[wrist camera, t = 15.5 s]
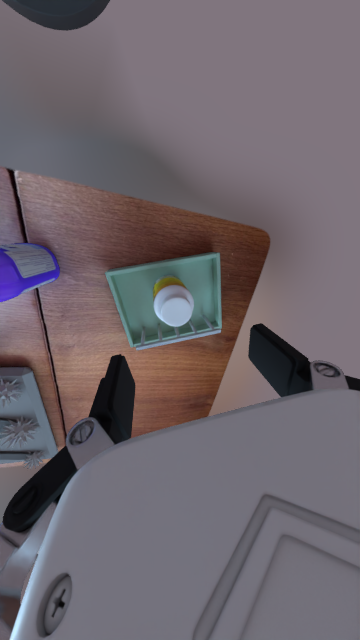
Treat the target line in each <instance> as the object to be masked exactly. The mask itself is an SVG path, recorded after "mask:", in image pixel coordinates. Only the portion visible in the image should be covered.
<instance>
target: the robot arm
mask: <svg viewBox="0 0 360 640" xmlns="http://www.w3.org/2000/svg"><path fill="white" fill-rule="evenodd" d="M248 356H249V359H250V360H251V362H252V363H253V364H254V365H255V366H256V368H257V369H258V370H259V371H260V373H261V374H262V375H263V376H264V377H265V379H267V381H268V382H269V383H270V385H271V386H272V387H273V388H274V389H275V391H276V392H277V393H278V394H279V395H280V396H281V398H278V399H274V400H270V401H266V402H262V403H259V404H255V405H251V406H247V407H243V408H239V409H235V410H232V411H228V412H224V413H220V414H217V415H213V416H209V417H205V418H202V419H198V420H194V421H190V422H187V423H183V424H179V425H176V426H172V427H168V428H165V429H161V430H158V431H154V432H151V433H147V434H144V435H140V436H137V437H134V438H131V431H132V420H133V409H134V397H135V382H134V379H133V377H132V374H131V372H130V369H129V367H128V364H127V361H126V359H125V357H124V356H121V354H119V355H115V356H112V357H111V360H110V363H109V366H108V369H107V372H106V376H105V378H102V379H101V381H100V384H99V387H98V390H97V393H96V396H95V399H94V402H93V405H92V408H91V411H90V414H89V417H87V418H84V419H82V420H80V421H79V422H77V423H76V424H75V425H74V426H73V427H72V428H71V430H70V431H69V433H68V435H67V437H66V446H65V447H64V448H63V449H61V450H60V451H59V452H58V453H57V454H56V455H55V456H54V457H53V458H52V459H51V460H50V461H49V462H48V463H47V464H46V465H45V466H44V467H42V468H41V469H40V470H39V471H38V472H37V473H36V474H35V475H34V476H33V477H32V478H31V479H30V480H29V481H28V482H27V483H26V484H24V486H22V487H21V488H20V489H19V491H18V492H17V493H16V494H15V495H14V497H13V498H12V500H11V501H10V502H9V504H8V506H7V508H6V510H5V513H4V516H3V521H2V523H1V524H0V640H360V379H357V378H353V377H349V376H345V375H344V373H343V371H342V370H341V369H340V368H339V367H337V366H336V365H334V364H332V363H329V362H326V361H320V360H318V361H313V362H309V361H308V358H307V357H305V356H304V355H303V354H301V353H300V352H299V351H297V350H296V349H295V348H294V347H292V346H291V345H290V344H288V343H287V342H286V341H284V340H283V339H281V338H280V337H279V336H278V335H276V334H275V333H274V332H272V331H271V330H270V329H268V328H267V327H266V326H264V325H263V324H256V325H253V327H252V328H251V330H250V344H249V355H248ZM129 438H131V439H129ZM40 547H41V548H40ZM39 549H40V551H39V554H37V552H38V550H39ZM36 559H37V560H36ZM35 560H36V563H35V566H34V568H33V571H32V574H31V577H30V580H29V583H28V586H27V589H26V592H25V595H24V598H23V601H22V604H20V597H21V591H22V587H23V584H24V581H25V579H26V577H27V575H28V572H29V571H30V569H31V567H32V565H33V564H34V562H35Z"/></svg>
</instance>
